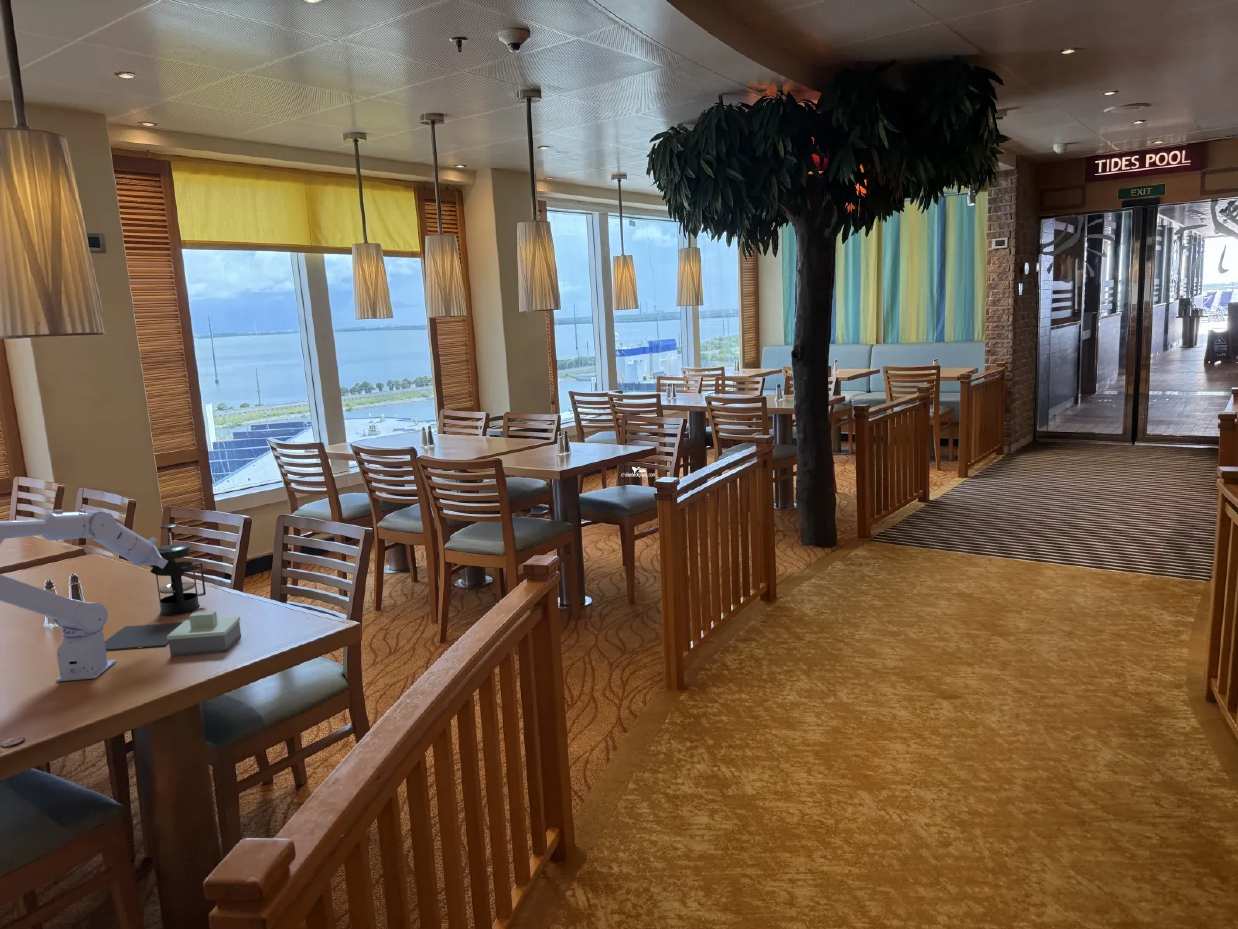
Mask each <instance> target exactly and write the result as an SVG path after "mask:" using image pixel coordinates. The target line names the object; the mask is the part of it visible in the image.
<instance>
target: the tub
mask: <svg viewBox="0 0 1238 929" xmlns="http://www.w3.org/2000/svg"><path fill="white" fill-rule="evenodd" d="M241 632H242V630H241V623H240V621H239V622H238V623H237V624H236V625H235V626H234V627H233V628H232V629H231V630H230V631H229V632H228V633H227V634H226V635H222V636H209V637H196V638H182V639H169V644H168V645H169V653H170V657H178V655H181V656H189V654H194V655H203V654H204V655H205V654H206V655H208V654H218V653H219V654H220V653H227V652H228V651H229V650H230V649H231V648H232V647H233V646H234V645H235V643H237V641H239V639H240V638H241V637H242V633H241ZM230 647H231V648H230ZM175 655H176V656H175Z"/></svg>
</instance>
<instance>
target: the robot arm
mask: <svg viewBox="0 0 1238 929" xmlns="http://www.w3.org/2000/svg"><path fill="white" fill-rule="evenodd" d="M33 536H34V537H35V536H41V537H42V538H44V539H45V540H46V541H61V540H62V541H63V540H74V539H75V540H76V539H81V538H82V539H83V538H84V537H85V538H86V537H87V538H91V540H94V541H95V542H97V543H98V544H100V545H101V546H102V547H105V548H107V549H108V550H110V551H112V552H114V553H115V554H117V555H119V556H121V557H123V558H125V559H126V560H127V561H129V562H131V563H132V564H133V565H135V566H138V567H143V566H144V567H145V566H147V567H148V566H150V567H152V568H151V570H150V573H152V574H153V575H155V576H156V575H157V576H158V575H167V576H166V577H170V578H171V577H173V578H177V579H180V578H182V576H183V575H184V574H185V573H184V572H185V571H184V570H183V569H182V568H183V567H182V566H181V567H180V566H179V565H178V564H177V563H176V562H177V561H176V559H174V558H173V555H172V554H171V553H169V552H166V554H165V555H164V556H163V558H162V557H161V555H160V553H159V551H158V549H157V548H158V547H157V545H156V544H157V542H158V540H157V538H155V537H154V536H153V537H150V538H149V539H146V538H145V537H143V536H141V535H140V534H137V533H136V532H135V531H133V530H131V529H130V528H128V527H126V526H125V525H122V523H119V522H117V521H116V518H115V517H114V515H113V514H112V513H111V512H106V511H102V510H99V511H98V510H88V509H82V508H80V509H77V511H64V510H63V509H52V512H47V513H46V514H44V515H43V516H41V518H39V519H22V520H21V519H19V520H18V519H17V520H15V519H14V520H0V546H1V545H2V543H3V542H4V541H5V539H7V540H8V539H15V538H25V537H33ZM0 602H3V603H6V604H9V605H12V606H15V607H18V608H22V609H24V610H27V611H29V612H34V613H36V614H40V615H43V616H44V617H45V618H48V619H50V620H53V622H54V623H55V624H56V625H57V626H58V627H60V628H61V633H62V635H63V636H62V637H63V640H62V642H61V644H60V645H59V646H58V648H57V652H56V657H57V665H58V669H59V675H60V676H58V677H57V678H56V680H55V681H56V682H65V681H77V680H78V681H79V680H90V679H92V680H93V679H97V678H98V677H99V676H101V674H103V673H104V672H105V671H106V670H108V669H109V668H110V667H111V666H113V665H114V664H115V663H116V662H117V660H116V659H109V660H108V656H107V651H106V648H105V641H106V640H105V636H104V635H105V634H104V626H105V625H106V623H107V620H108V617H109V613H108V609H107V607H106V606H105V605H104V604H102V603H101V602H97V601H96V602H95V601H94V602H92V601H91V602H90V601H84V600H79V599H75V598H69V597H65V596H62V595H60V594H57V593H54V592H51V591H49V590H46V589H42V588H40V587H37V586H35V585H31V584H29V583H26V582H23V581H20V580H18V579H14V578H12V577H9V576H7V575H3V574H1V573H0Z"/></svg>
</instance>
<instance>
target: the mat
mask: <svg viewBox="0 0 1238 929" xmlns="http://www.w3.org/2000/svg"><path fill="white" fill-rule="evenodd" d="M183 622H184V621H182V622H181V621H180V622H167V623H165V622H164V623H154V624H153V623H152V624H141V625H139V624H138V625H128V626H127V625H126V626H124V627H122V628H121V629H120V630H118V631H116V633H114V634H113V635H111V636H110V637H109V638H107V639H106V640H104V641H105V648H106V650H111V651H121V650H120V649H124V650H131V649H130V648H137V649H139V648H138V647H150V648H158V647H159V648H161V647H160V646H163V647H166V646H168V645H169V644H168V643H169V640H167V636H168V635H169V634H170V633H171V632H172V631H174V630H175V629H176V628H177V627H178V626H180V625H181V624H182V623H183Z"/></svg>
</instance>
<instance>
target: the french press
mask: <svg viewBox="0 0 1238 929" xmlns="http://www.w3.org/2000/svg"><path fill="white" fill-rule="evenodd" d="M178 526H179V524H178V523H169V524H163V525H161V526H159V528H160V529H161V530H162V529H167V533H168V534H169V540H170V544H166V545H162V546H159V547H157V549H158V551H159V553H160V555H161V557H162V558H163V556H164V555H165V554H166V552H169V553H171V554H172V555H173V558H174V560H177V559H181V558H185V557H187V556H190V554H191V548H192V544H190V543H174V544H173V539H172V532H173V528H176V527H178ZM176 563H177V564H178V565H179V566H180V567H181V568H182V569H183V570H184V571H185V572H184V574H185V573H189V572H192V573H193V581H194V582H192V581H191V582H190V581H183V578H182V577H181V578H180V579H177V578H173V577H171V576H170V583H169V584H167V585H166V584H165V585H163V586H162V587H160V586H159V585H160V584H159V577H160V576H161V577H168V576H167V575H155V578H156V585H157V592H158V600H159V608H160V610H159V614H160V615H161V616H163V615H164V617H176V616H175V615H177V616H182V615H181V614H183V615H186V614H185V613H187V614H190V612H191V613H193V612H195V611H194V610H196V609H198V608H199V607H201V605H200V603H199V597H202V596H206V594H207V593H206V585H205V578H204V577H205V576H204V570H203V569H204V568H203V564H202V561H197V562H193V561H190V560H189V561H188V560H187V561H186V560H184V561H176ZM195 566H199V568H200V576H201V583H202V584H201V585H202V591H203V592H200V593H198V588H197V581H196V572H195V571H196V570H195ZM192 589H195V590H194V591H195V592H187V591H190V590H192ZM161 594H165V595H166V594H171V595H168V596H164V597H162V598H161ZM199 609H200V608H199ZM199 609H198V610H199ZM192 611H193V612H192ZM196 611H197V610H196Z"/></svg>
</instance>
